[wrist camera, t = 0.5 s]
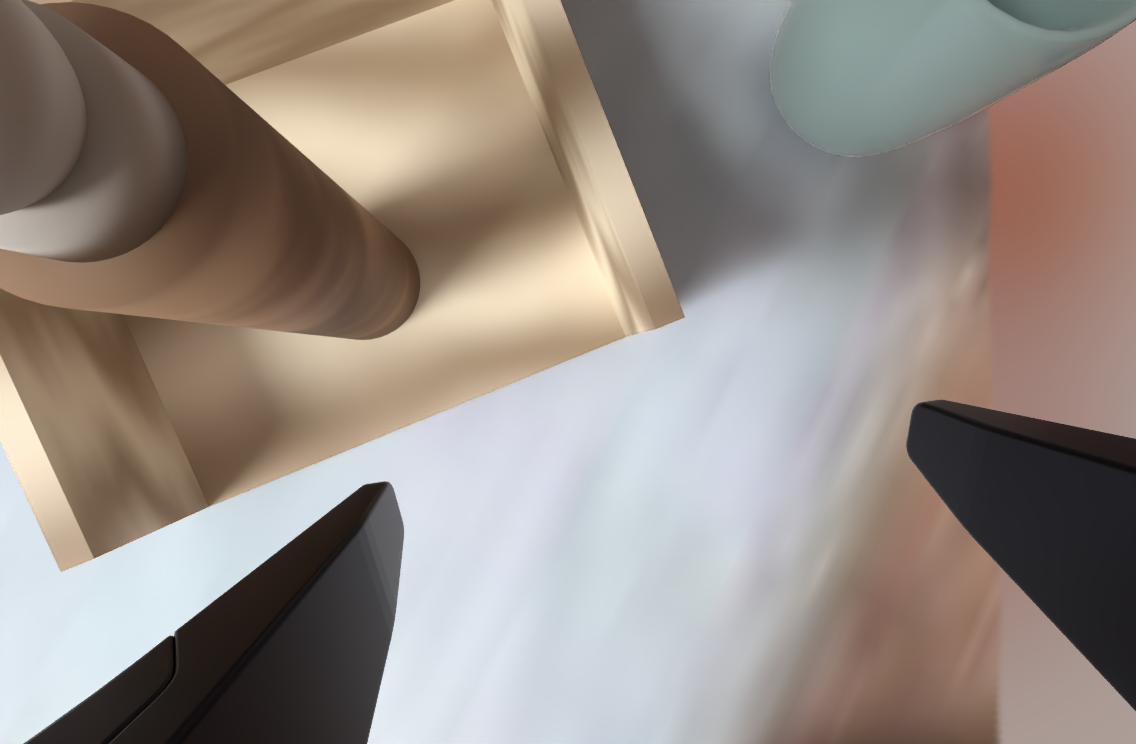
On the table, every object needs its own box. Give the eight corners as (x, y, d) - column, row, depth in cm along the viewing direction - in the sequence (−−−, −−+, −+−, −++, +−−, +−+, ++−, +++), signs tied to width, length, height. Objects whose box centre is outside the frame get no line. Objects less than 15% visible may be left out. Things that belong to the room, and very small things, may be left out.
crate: (644, 328, 22) (684, 317, 16) (194, 512, 21) (60, 572, 15) (501, -33, 22) (487, -184, 16) (28, 140, 21) (-181, 50, 15)
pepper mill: (414, 345, 21) (-44, 295, 4) (297, 333, 21) (-666, 231, 4) (425, 231, 21) (2, -259, 4) (308, 218, 21) (-633, -366, 4)
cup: (706, 94, 22) (846, -121, 12) (824, -41, 22) (1057, -364, 12) (838, 218, 23) (1077, 107, 13) (953, 84, 23) (1276, -128, 13)
